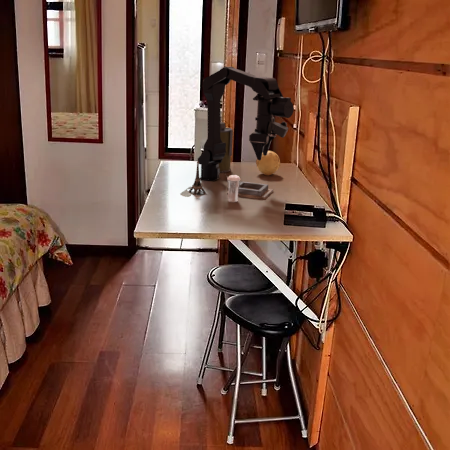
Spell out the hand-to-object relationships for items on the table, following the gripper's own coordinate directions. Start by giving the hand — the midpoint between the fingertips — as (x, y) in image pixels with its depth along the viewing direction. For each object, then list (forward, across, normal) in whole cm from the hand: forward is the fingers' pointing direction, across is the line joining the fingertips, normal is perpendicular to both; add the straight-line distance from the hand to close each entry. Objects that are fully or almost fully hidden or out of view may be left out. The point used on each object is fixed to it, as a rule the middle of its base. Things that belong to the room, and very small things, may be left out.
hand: (262, 157), depth 205 cm
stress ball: (+13, +28, +4) cm, 31 cm away
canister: (+13, +28, +25) cm, 40 cm away
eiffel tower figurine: (+14, -11, +21) cm, 28 cm away
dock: (+13, -3, +3) cm, 14 cm away
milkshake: (+13, -16, +6) cm, 21 cm away
